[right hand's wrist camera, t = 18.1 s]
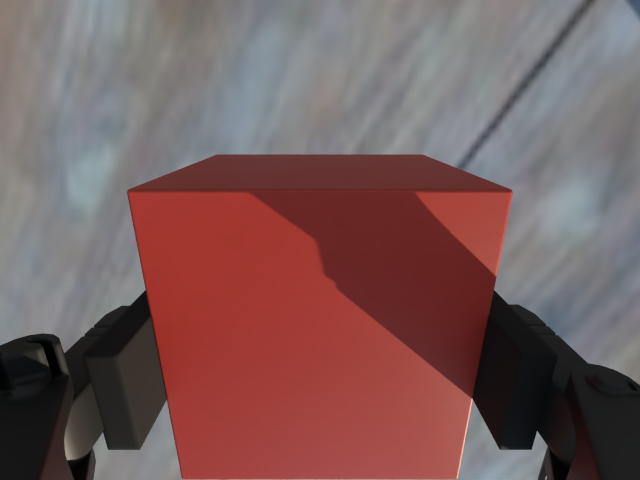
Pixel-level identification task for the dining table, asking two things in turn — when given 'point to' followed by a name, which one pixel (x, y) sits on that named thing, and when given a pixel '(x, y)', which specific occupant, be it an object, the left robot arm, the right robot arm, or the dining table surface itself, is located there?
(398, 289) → the brick
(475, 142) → the dining table surface
